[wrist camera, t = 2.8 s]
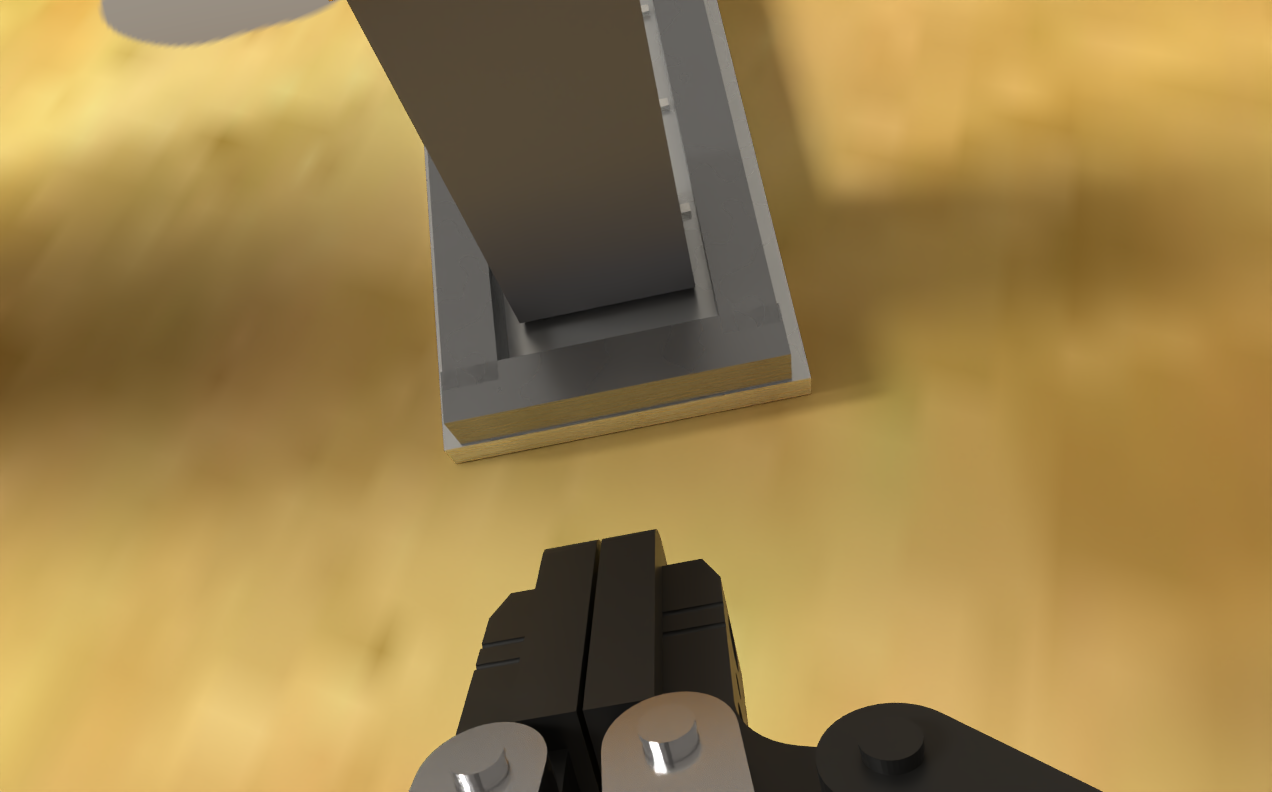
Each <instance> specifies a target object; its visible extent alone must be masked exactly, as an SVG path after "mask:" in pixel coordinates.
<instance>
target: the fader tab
mask: <svg viewBox="0 0 1272 792" xmlns="http://www.w3.org/2000/svg"><path fill="white" fill-rule="evenodd" d="M329 1H333V0H329ZM347 2H348V4H349V6H350V7H351V9H352V11H353V13H354V15H355V17H356V19H357V21H358V22H359V24H360V26H361V28H362V30H363V32H364V34H365V35H366V37H367V39H368V41H369V43H370V45H371V47H372V49H373V50H374V52H375V54H376V56H377V58H378V60H379V62H380V63H381V65H382V67H383V69H384V71H385V73H386V75H387V77H388V78H389V80H390V82H391V84H392V86H393V88H394V90H395V91H396V93H397V95H398V97H399V99H400V101H401V103H402V105H403V106H404V108H405V110H406V112H407V114H408V116H409V118H410V119H411V121H412V123H413V125H414V127H415V129H416V131H417V133H418V134H419V136H420V138H421V140H422V142H423V144H424V146H425V147H426V149H427V151H428V153H429V155H430V157H431V159H432V161H433V162H434V164H435V166H436V168H437V170H438V172H439V174H440V175H441V177H442V179H443V181H444V183H445V185H446V187H447V189H448V190H449V192H450V194H451V196H452V198H453V200H454V202H455V204H456V205H457V207H458V209H459V211H460V213H461V215H462V217H463V218H464V220H465V222H466V224H467V226H468V228H469V230H470V232H471V233H472V235H473V237H474V239H475V241H476V243H477V245H478V246H479V248H480V250H481V252H482V254H483V256H484V258H485V260H486V261H487V263H488V265H489V267H490V269H491V271H492V273H493V274H494V276H495V278H496V280H497V282H498V284H499V286H500V288H501V289H502V291H503V293H504V295H505V297H506V299H507V301H508V302H509V304H510V306H511V308H512V310H513V312H514V314H515V316H516V317H517V319H518V321H519V323H525V322H530V321H535V320H539V319H544V318H549V317H554V316H559V315H564V314H568V313H573V312H578V311H583V310H588V309H592V308H597V307H602V306H607V305H612V304H617V303H621V302H626V301H631V300H636V299H641V298H646V297H650V296H655V295H660V294H665V293H670V292H675V291H679V290H684V289H689V288H694V287H695V282H694V277H693V272H692V267H691V262H690V257H689V251H688V246H687V241H686V236H685V231H684V226H683V221H682V215H681V210H680V205H679V200H678V195H677V190H676V185H675V179H674V174H673V169H672V164H671V159H670V154H669V148H668V143H667V138H666V133H665V128H664V123H663V118H662V112H661V107H660V102H659V97H658V92H657V87H656V81H655V76H654V71H653V66H652V61H651V56H650V51H649V45H648V40H647V35H646V30H645V25H644V20H643V15H642V9H641V4H640V0H347Z"/></svg>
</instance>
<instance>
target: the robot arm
mask: <svg viewBox="0 0 1272 792" xmlns="http://www.w3.org/2000/svg"><path fill="white" fill-rule="evenodd" d="M482 647H483V649H480V652H479V656H478V659H477V663H476V669H477V670H475V671H474V673H473V677H472V680H471V684H470V687H469V691H468V694H467V698H466V701H465V705H464V708H463V712H462V715H461V719H460V722H459V726H458V729H457V733H456V736H454V737H452V738H451V739H449V740H448V741H446V742H445V743H443V744H442V745H441V746H439V747H438V748H437V749H436V750H434V751H433V752H432V753H431V754H430V755H429V756H428V757H427V758H426V760H425V761H424V762H423V764H422V765H421V766H420V768H419V770H418V772H417V774H416V776H415V778H414V780H413V783H412V785H411V788H410V790H409V792H1102V791H1100V790H1098V789H1096V788H1094V787H1092V786H1090V785H1088V784H1086V783H1084V782H1082V781H1080V780H1078V779H1076V778H1074V777H1072V776H1069V775H1067V774H1065V773H1063V772H1061V771H1059V770H1057V769H1055V768H1053V767H1051V766H1049V765H1047V764H1045V763H1043V762H1041V761H1039V760H1037V759H1035V758H1033V757H1031V756H1029V755H1027V754H1024V753H1022V752H1020V751H1018V750H1016V749H1014V748H1012V747H1010V746H1008V745H1006V744H1004V743H1002V742H1000V741H998V740H996V739H994V738H992V737H990V736H988V735H986V734H984V733H982V732H979V731H977V730H975V729H973V728H971V727H969V726H967V725H965V724H963V723H961V722H959V721H957V720H955V719H953V718H951V717H949V716H947V715H945V714H943V713H940V712H938V711H936V710H933V709H931V708H927V707H923V706H920V705H914V704H907V703H885V704H877V705H872V706H867V707H864V708H861V709H858V710H855V711H853V712H851V713H849V714H847V715H845V716H843V717H842V718H840V719H839V720H837V721H836V722H834V723H833V724H832V725H831V726H830V727H829V728H828V729H827V730H826V732H825V733H824V734H823V736H822V737H821V739H820V741H819V743H818V745H817V747H808V746H797V745H790V744H784V743H780V742H776V741H773V740H771V739H768V738H766V737H763V736H761V735H760V734H758V733H756V732H754V731H753V730H752V729H751V728H749V727H748V720H747V712H746V706H745V697H744V689H743V681H742V674H741V670H740V665H739V660H738V656H737V651H736V647H735V642H734V637H733V633H732V628H731V624H730V619H729V614H728V610H727V605H726V601H725V596H724V591H723V587H722V582H721V578H720V576H719V575H718V574H717V573H716V572H715V571H714V570H713V569H712V568H711V567H710V566H709V565H708V564H707V563H706V562H705V561H704V560H703V559H698V560H693V561H687V562H682V563H676V564H671V565H667V562H666V558H665V554H664V550H663V546H662V542H661V538H660V535H659V533H658V530H657V529H654V530H649V531H643V532H638V533H632V534H627V535H622V536H616V537H611V538H606V539H602V542H601V541H600V540H594V541H589V542H583V543H578V544H572V545H567V546H562V547H556V548H551V549H546V550H545V551H544V552H543V556H542V561H541V565H540V570H539V574H538V579H537V583H536V588H535V589H533V590H527V591H522V592H516V593H511V594H510V595H509V596H508V598H507V599H506V600H505V601H504V602H503V603H502V604H501V606H500V607H499V608H498V609H497V610H496V611H495V612H494V614H493V615H492V616H491V617H490V618H489V621H488V625H487V628H486V632H485V635H484V639H483V642H482Z"/></svg>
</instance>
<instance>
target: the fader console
mask: <svg viewBox="0 0 1272 792" xmlns="http://www.w3.org/2000/svg"><path fill="white" fill-rule="evenodd" d="M640 4H641V9H642V15H643V20H644V25H645V30H646V35H647V40H648V45H649V51H650V56H651V61H652V66H653V71H654V76H655V81H656V87H657V92H658V97H659V102H660V107H661V112H662V118H663V123H664V128H665V133H666V138H667V143H668V148H669V154H670V159H671V164H672V169H673V174H674V179H675V185H676V190H677V195H678V200H679V205H680V210H681V215H682V221H683V226H684V231H685V236H686V241H687V246H688V251H689V257H690V262H691V267H692V272H693V277H694V282H695V287H694V288H689V289H684V290H679V291H675V292H670V293H665V294H660V295H655V296H650V297H646V298H641V299H636V300H631V301H626V302H621V303H617V304H612V305H607V306H602V307H597V308H592V309H588V310H583V311H578V312H573V313H568V314H564V315H559V316H554V317H549V318H544V319H539V320H535V321H530V322H525V323H519V321H518V319H517V317H516V316H515V314H514V312H513V310H512V308H511V306H510V304H509V302H508V301H507V299H506V297H505V295H504V293H503V291H502V289H501V288H500V286H499V284H498V282H497V280H496V278H495V276H494V274H493V273H492V271H491V269H490V267H489V265H488V263H487V261H486V260H485V258H484V256H483V254H482V252H481V250H480V248H479V246H478V245H477V243H476V241H475V239H474V237H473V235H472V233H471V232H470V230H469V228H468V226H467V224H466V222H465V220H464V218H463V217H462V215H461V213H460V211H459V209H458V207H457V205H456V204H455V202H454V200H453V198H452V196H451V194H450V192H449V190H448V189H447V187H446V185H445V183H444V181H443V179H442V177H441V175H440V174H439V172H438V170H437V168H436V166H435V164H434V162H433V161H432V159H431V157H430V155H429V153H428V151H427V149H426V147H425V146H424V150H425V166H426V181H427V196H428V212H429V227H430V242H431V258H432V273H433V288H434V304H435V319H436V334H437V349H438V365H439V380H440V395H441V411H442V426H443V441H444V451H445V452H446V453H447V454H448V456H449V457H450V458H451V459H452V460H453V461H454V462H455V463H456V464H457V463H462V462H467V461H472V460H477V459H482V458H487V457H492V456H497V455H503V454H508V453H513V452H518V451H523V450H528V449H533V448H538V447H543V446H548V445H553V444H558V443H563V442H568V441H574V440H579V439H584V438H589V437H594V436H599V435H604V434H609V433H614V432H619V431H624V430H629V429H634V428H639V427H645V426H650V425H655V424H660V423H665V422H670V421H675V420H680V419H685V418H690V417H695V416H700V415H705V414H711V413H716V412H721V411H726V410H731V409H736V408H741V407H746V406H751V405H756V404H761V403H766V402H771V401H776V400H782V399H787V398H792V397H797V396H802V395H807V394H811V375H810V371H809V367H808V363H807V359H806V355H805V351H804V347H803V343H802V339H801V335H800V331H799V327H798V323H797V319H796V315H795V311H794V307H793V303H792V299H791V295H790V291H789V287H788V283H787V279H786V275H785V271H784V267H783V263H782V259H781V255H780V251H779V247H778V243H777V239H776V235H775V231H774V227H773V223H772V219H771V215H770V211H769V207H768V203H767V199H766V195H765V191H764V187H763V183H762V179H761V175H760V171H759V167H758V163H757V159H756V155H755V151H754V147H753V143H752V139H751V135H750V131H749V127H748V123H747V119H746V115H745V111H744V107H743V103H742V99H741V95H740V91H739V87H738V83H737V79H736V75H735V71H734V67H733V63H732V59H731V55H730V51H729V47H728V43H727V39H726V35H725V31H724V27H723V23H722V19H721V15H720V11H719V7H718V3H717V0H640Z"/></svg>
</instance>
